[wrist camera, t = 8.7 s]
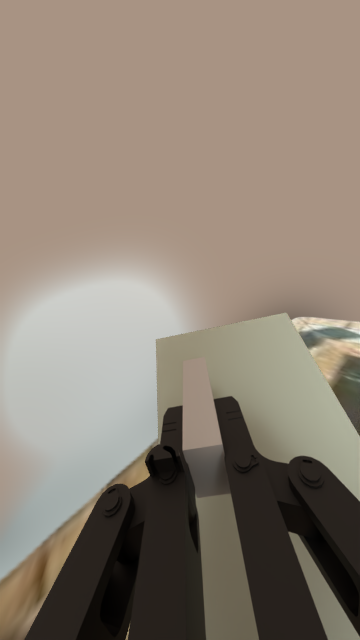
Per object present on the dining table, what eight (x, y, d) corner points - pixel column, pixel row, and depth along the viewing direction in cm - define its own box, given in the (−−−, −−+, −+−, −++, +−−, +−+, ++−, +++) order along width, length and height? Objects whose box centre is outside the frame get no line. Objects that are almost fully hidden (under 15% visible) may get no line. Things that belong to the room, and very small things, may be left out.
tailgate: (485, 650, 7) (286, 312, 17) (163, 663, 8) (155, 339, 19) (455, 629, 8) (283, 321, 18) (171, 645, 9) (159, 346, 20)
